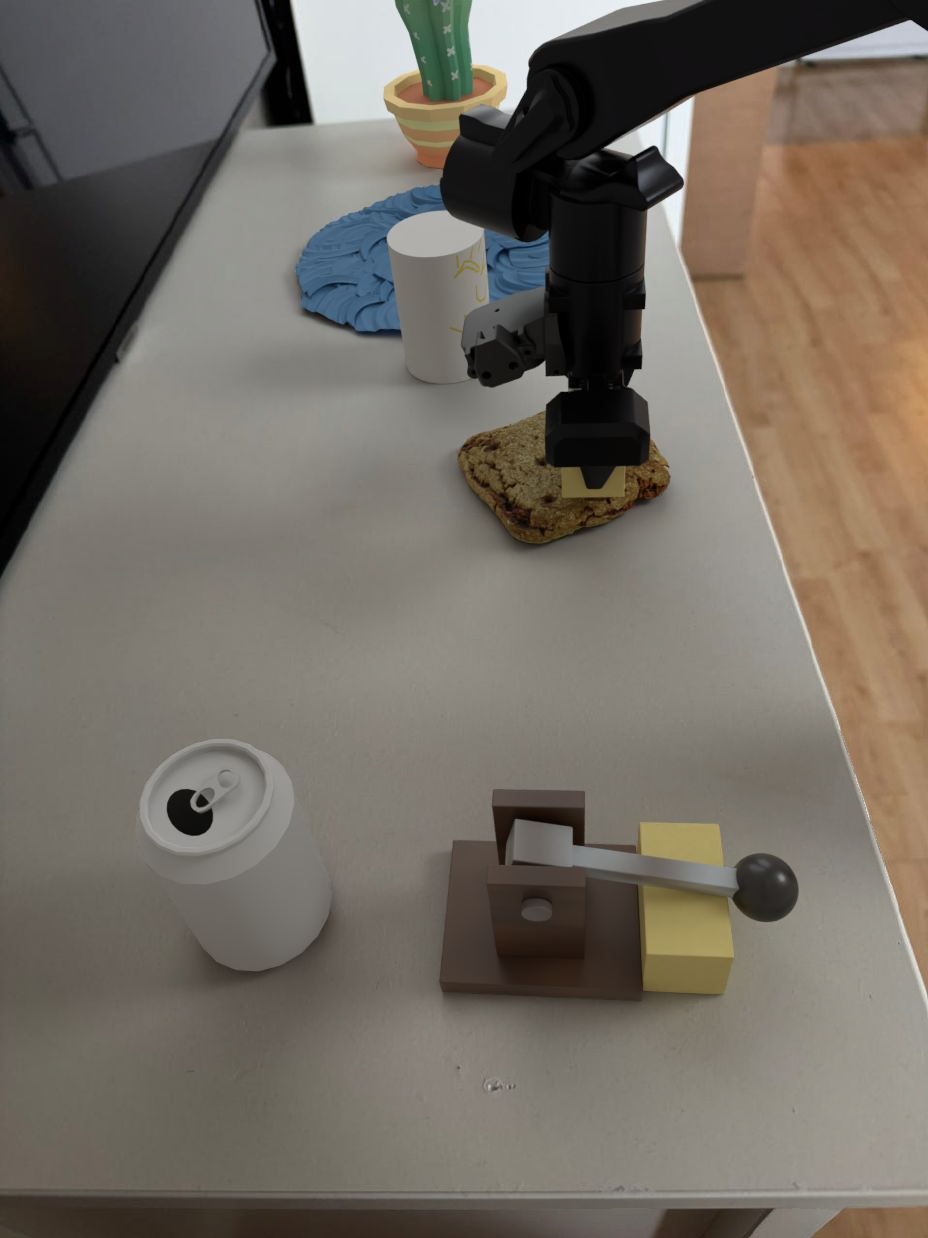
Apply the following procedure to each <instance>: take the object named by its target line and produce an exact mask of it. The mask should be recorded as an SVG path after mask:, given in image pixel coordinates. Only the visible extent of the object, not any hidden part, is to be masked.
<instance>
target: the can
mask: <svg viewBox="0 0 928 1238" xmlns="http://www.w3.org/2000/svg"><path fill="white" fill-rule="evenodd" d="M135 843H136V845H137V848H138V850H139V853H140V855H141V858H142V860H143V862H144V863H145V865H146V866H147V868H148V869H149V871H150V872H151V874H152V875H153V877H154V878H155V880H156V881H157V882H158V884H159V886H160V887H161V888H162V890H163V891H164V893H165V894H166V896H167V897H168V899H169V900H170V902H171V903H172V904H173V906H174V907H175V909H176V910H177V912H178V913H179V915H180V917H181V918H182V919H183V921H184V923H185V924H186V926H187V927H188V928H189V930H190V931H191V933H192V934H193V936H194V937H195V939H196V940H197V942H198V943H199V944H200V946H201V948H203V950H204V951H205V952H206V953H207V954H208V955H209V956H210V957H211V958H212V959H213V960H215V962H216V963H217V964H221V965H223V966H225V967H228V968H229V969H230V968H231V969H233V970H235V971H246V972H247V971H248V972H260V971H264V970H267V969H268V970H269V969H273V968H276V967H281V966H282V965H285V964H286V963H287V962H288V961H291V960H293V959H294V958H296V957H297V956H299V955H301V954H302V953H303V952H304V951H305V950H306V949H307V948H308V947H309V946H310V945H311V944H312V942H314V941H315V940H316V939H317V938H318V937H319V935H320V933H321V931H322V929H323V927H324V926H325V924H326V922H327V920H328V919H329V915H330V910H331V905H332V899H333V892H332V885H331V878H330V874H329V872H328V869H327V867H326V865H325V864H326V863H325V861H324V859H323V857H322V854H321V851H320V849H319V847H318V844H317V842H316V839H315V837H314V834H313V832H312V829H311V827H310V824H309V821H308V819H307V816H306V813H305V811H304V809H303V806H302V804H301V801H300V798H299V796H298V794H297V791H296V789H295V786H294V784H293V781H292V779H291V777H290V776H289V774H288V773H287V770H286V769H285V767H284V766H283V764H281V762H279V761H278V760H277V759H275V758H274V757H273V756H271V754H269V753H268V752H265V751H263V750H260V749H257V748H256V747H254V746H253V745H252V744H249V743H246V742H243V741H240V740H237V739H234V738H211V739H208V740H204V741H199V742H195V743H192V744H190V745H188V746H186V747H183V748H182V749H180V750H178V751H176V752H174V753H173V754H172V755H170V756H169V757H168V758H167V759H165V760H164V761H163V762H161V764H159V765H158V766H157V767H156V769H154V771H153V772H152V774H151V775H150V777H149V778H148V780H147V781H146V782H145V784H144V787H143V789H142V793H141V795H140V798H139V800H138V813H137V815H136V819H135Z"/></svg>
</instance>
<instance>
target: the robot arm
mask: <svg viewBox="0 0 928 1238" xmlns="http://www.w3.org/2000/svg"><path fill="white" fill-rule="evenodd" d="M908 21H909V22H910V21H911V22H913V23H914V24H915V25H917V26H919V27H920V28H921V29H924V30H925V31H926V32H928V0H656V1H651V2H646V3H640V4H635V5H631V6H625V7H621V8H619V9H616V10H614V11H612V12H609V13H606V14H605V15H603V16H600V17H598V18H596V19H593V20H591V21H589V22H587V23H585V24H582V25H581V26H579V27H576V28H574V29H572V30H569V31H567V32H565V33H563V34H561V35H558V36H556V37H554V38H551V39H549V40H547V41H545V42H543V43H542V44H540V45H539V46H538V47H537V48H535V49H534V50H533V52H532V54H531V55H530V57H529V58H528V61H527V65H528V66H527V67H528V70H527V71H528V72H527V75H526V89H525V90H524V92H523V95H521V96H522V97H521V98H520V100H519V102H518V104H517V106H516V107H515V109H514V111H513V113H512V114H509V113H506V112H503V111H502V110H500V109H499V110H498V109H497V108H495V107H492V106H488V105H484V104H480V105H478V106H476V107H474V108H472V109H470V110H468V111H466V112H464V113H461V114H460V115H459V128H460V135H459V136H458V137H457V138H456V140H455V141H454V143H453V144H452V146H451V148H450V150H449V152H448V154H447V157H446V160H445V164H444V168H443V169H442V176H441V177H440V179H439V184H440V193H441V197H442V201H443V204H444V206H445V208H446V210H447V211H448V212H449V213H450V215H451V216H453V217H454V218H456V219H458V220H461V221H463V222H466V223H469V224H472V225H475V226H478V227H481V228H483V229H486V230H489V231H492V232H495V233H498V234H500V235H503V236H506V237H509V238H512V239H515V240H518V241H520V242H526V243H529V242H533V241H536V240H538V239H540V238H541V237H542V236H543V235H545V234H546V233H547V232H548V235H549V266H546V267H545V286H541V287H538V288H535V289H532V290H528V291H520V292H518V293H515V294H512V295H510V296H507V297H505V298H502V299H499V300H497V301H494V302H492V303H489V304H486V305H484V306H481V307H479V308H477V309H475V310H473V311H471V312H470V313H469V314H468V315H467V316H466V318H465V320H464V326H463V332H462V339H461V347H462V349H463V351H464V353H465V355H464V356H465V358H466V360H467V363H468V368H467V375H468V376H469V377H470V378H472V379H473V380H478V382H479V384H480V385H481V386H482V387H484V388H490V389H492V388H493V389H494V388H497V387H499V386H502V385H505V384H508V383H510V382H512V381H514V382H515V381H516V380H519V379H522V377H523V375H525V372H528V371H531V370H534V369H536V368H538V367H540V366H541V365H542V364H544V367H545V369H544V370H545V372H544V373H545V377H565V378H566V379H567V390H566V391H559V392H558V393H557V394H556V395H555V396H554V397H553V398H552V399H550V400H549V401H548V402H547V403H546V404H545V410H546V416H545V462H546V463H548V464H549V465H551V466H553V467H554V468H562V467H580V469H581V472H582V476H583V479H584V482H585V485H586V488H587V489H602V488H603V486H604V485H605V483H606V482H607V480H608V479H609V477H610V476H611V474H612V473H613V471H614V469H615V468H616V466H641V465H642V464H644V463H645V462H647V461H648V460H649V450H650V438H651V426H650V425H651V424H650V412H649V402H648V400H646V399H645V398H643V396H641V395H640V394H639V393H638V392H636V390H635V389H634V388H632V387H630V386H629V384H630V382H631V380H632V377H633V375H634V372H635V370H637V371H638V370H643V358H644V356H643V355H644V354H643V344H642V323H643V310H646V304H647V303H646V301H647V300H646V299H647V290H646V289H647V288H646V278H645V264H646V249H647V248H646V247H647V246H646V245H647V231H648V229H647V228H648V212H649V211H648V210H650V209H651V208H653V207H655V206H656V205H658V204H660V203H661V202H663V201H665V200H666V199H668V198H669V197H671V196H673V195H674V194H676V193H677V192H679V191H681V190H682V189H683V188H684V187H685V180H684V178H683V176H682V175H681V174H680V173H679V171H678V170H677V169H676V167H675V166H674V165H672V164H671V163H669V162H668V161H667V160H666V159H665V158H664V157H663V155H662V154H661V151H660V149H659V147H658V146H657V145H654V144H653V145H650V146H649V147H647V148H645V149H643V150H642V151H640V152H638V153H636V154H634V155H633V154H629V153H625V152H622V151H618V150H614V149H610V148H607V147H608V146H611V145H612V144H614V143H616V142H618V141H620V140H621V139H623V138H625V137H626V136H628V135H630V134H632V133H634V132H636V131H638V130H640V129H641V128H643V127H645V126H647V125H649V124H650V123H652V122H654V121H656V120H657V119H660V118H661V117H662V116H664V115H666V114H667V113H669V112H671V111H673V110H674V109H675V108H677V107H679V106H680V105H682V104H684V103H686V102H687V101H688V100H690V99H692V98H694V97H695V96H697V95H698V94H699V93H703V92H705V91H708V90H712V89H714V88H717V87H720V86H723V85H726V84H729V83H732V82H734V81H736V80H741V79H743V78H746V77H749V76H751V75H754V74H755V75H756V74H758V73H761V72H763V71H766V70H770V69H772V68H776V67H778V66H781V65H784V64H787V63H790V62H793V61H795V60H798V59H802V58H805V57H808V56H810V55H813V54H816V53H819V52H821V51H825V50H827V49H831V48H834V47H836V46H839V45H842V44H845V43H848V42H851V41H854V40H856V39H859V38H863V37H865V36H868V35H871V34H874V33H877V32H880V31H883V30H885V29H889V28H892V27H895V26H898V25H900V24H903V23H906V22H908ZM472 379H471V380H472Z"/></svg>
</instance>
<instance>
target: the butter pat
mask: <svg viewBox="0 0 928 1238" xmlns="http://www.w3.org/2000/svg"><path fill="white" fill-rule="evenodd" d="M625 468H626V466H616V468H615V469H614V471H613V473H612V474H611V476H610V477H609V479H608V480H607V482H606V483H605V485H604V486H603V488H602V489H587V488H586V485H585V482H584V479H583V476H582V472H581V469H580V467H562V468H561V473H562V498H580V497H624V490H625Z"/></svg>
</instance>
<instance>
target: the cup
mask: <svg viewBox="0 0 928 1238" xmlns="http://www.w3.org/2000/svg"><path fill="white" fill-rule="evenodd" d="M387 244H388V250H389V257H390V263H391V269H392V276H393V282H394V289H395V295H396V301H397V308H398V314H399V320H400V327H401V329H400V332H401V339H402V345H403V351H404V358H405V359H404V360H405V364H406V368H407V370H408V372H409V373H410V374H411V375H412V376H413V377H415V378H416V379H418V380H420V381H423V382H426V383H429V384H437V385H449V384H450V385H451V384H457V383H462V382H467V381H468V380H472V378H470V377H469V376H468V375H467V368H468V363H467V360H466V358H465V356H464V355H465V353H464V351H463V349H462V347H461V339H462V332H463V326H464V320H465V318H466V316H467V315H468V314H469V313H470V312H471V311H473V310H475V309H477V308H479V307H481V306H484V305H486V304H489V303H490V302H489V289H488V277H487V264H486V251H485V238H484V229H483V228H481V227H478V226H475V225H472V224H469V223H466V222H463V221H461V220H458V219H456V218H454V217H453V216H451V215H450V213H449V212H448V211H432V212H426V213H421V214H417V215H414V216H411V217H409V218H406V219H404V220H402V221H400V222H399V223H397V224H396V225H395V226H394V227H392V228H391V230H390V231H389V233H388V235H387Z"/></svg>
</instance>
